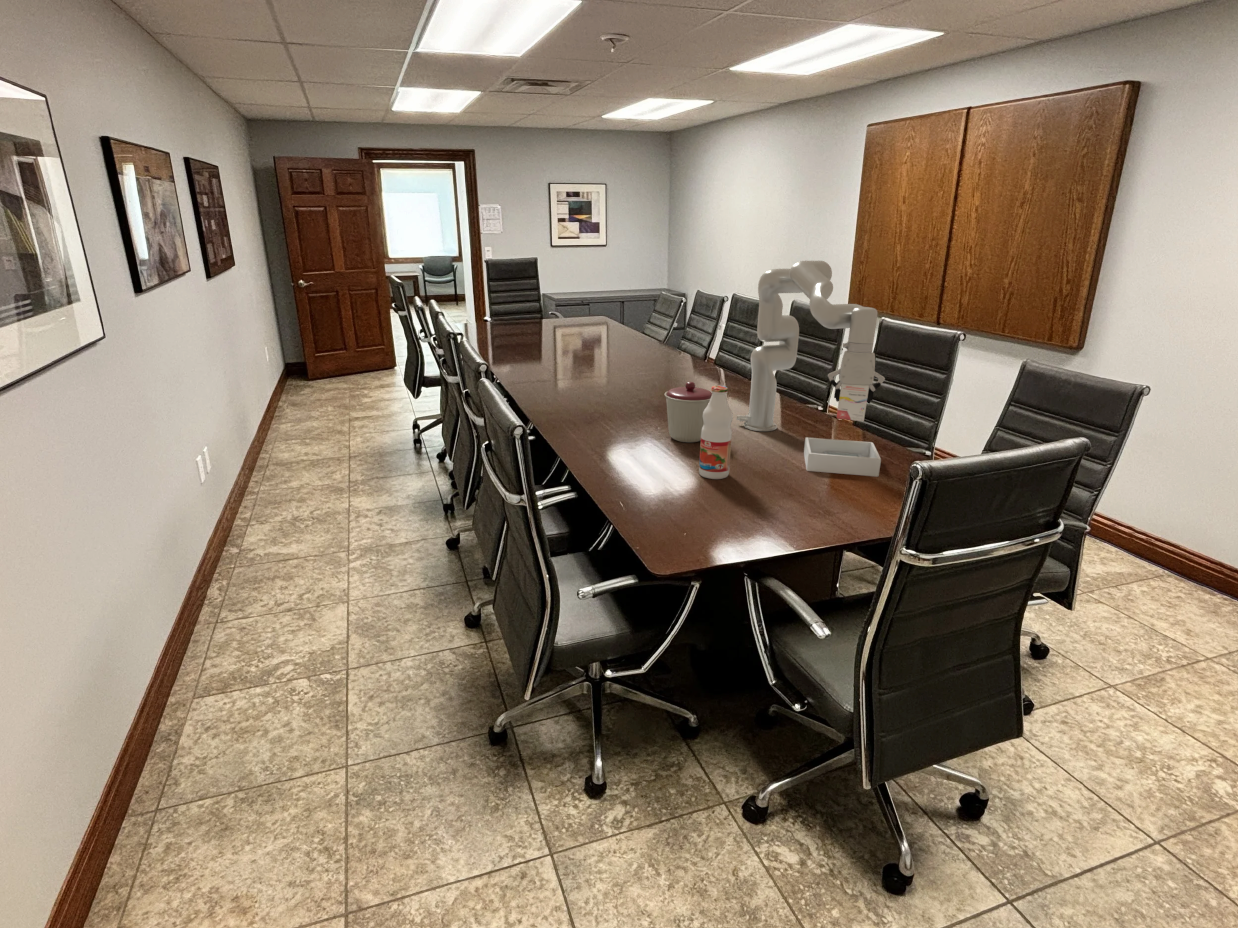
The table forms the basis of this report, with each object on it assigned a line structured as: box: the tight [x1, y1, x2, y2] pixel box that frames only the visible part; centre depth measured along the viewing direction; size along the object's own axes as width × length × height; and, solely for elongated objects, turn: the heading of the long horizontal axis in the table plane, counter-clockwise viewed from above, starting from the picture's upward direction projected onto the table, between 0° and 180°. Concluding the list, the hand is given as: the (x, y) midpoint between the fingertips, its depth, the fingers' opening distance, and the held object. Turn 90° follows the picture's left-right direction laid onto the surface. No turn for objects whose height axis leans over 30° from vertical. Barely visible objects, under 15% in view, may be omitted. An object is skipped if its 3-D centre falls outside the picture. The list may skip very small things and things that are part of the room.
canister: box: [664, 381, 712, 443], centre depth 249 cm, size 18×18×21 cm
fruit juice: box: [698, 385, 734, 480], centre depth 212 cm, size 9×9×28 cm
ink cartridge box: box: [836, 383, 869, 422], centre depth 220 cm, size 9×5×15 cm, turn 71°
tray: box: [803, 436, 882, 477], centre depth 227 cm, size 22×18×6 cm
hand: (852, 401), depth 221 cm, fingers closed on ink cartridge box, 9 cm apart
